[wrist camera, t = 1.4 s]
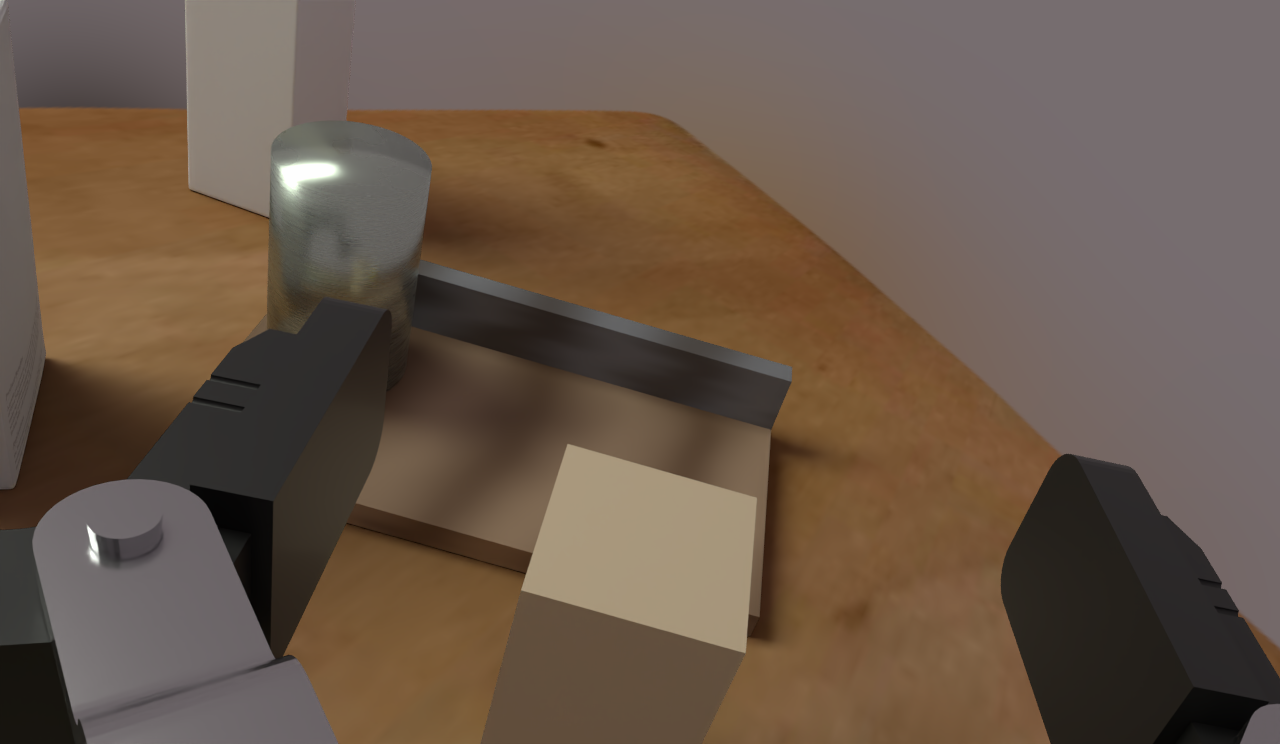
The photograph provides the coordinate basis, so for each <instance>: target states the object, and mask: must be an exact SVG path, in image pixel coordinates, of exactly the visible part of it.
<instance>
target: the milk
mask: <svg viewBox="0 0 1280 744" xmlns="http://www.w3.org/2000/svg"><path fill="white" fill-rule="evenodd" d="M355 2H356V0H185V21H186V22H185V24H186V72H187V73H186V74H187V124H188V173H189V189H191V190H193V191H196V192H199V193H201V194H204V195H207V196H210V197H212V198H215V199H218V200H221V201H224V202H226V203H229V204H232V205H235V206H238V207H240V208H243V209H246V210H249V211H251V212H254V213H257V214H260V215H263V216H265V217H268V218H269V211H270V172H271V147H272V143H273V141H274V139H275V138H276V137H277V136H278V135H279V134H280V133H282V132H283V131H285V130H287V129H289V128H291V127H294V126H296V125H300V124H304V123H309V122H316V121H346V117H347V104H348V91H349V78H350V65H351V53H352V40H353V27H354V15H355Z"/></svg>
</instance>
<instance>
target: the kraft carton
mask: <svg viewBox="0 0 1280 744" xmlns="http://www.w3.org/2000/svg"><path fill="white" fill-rule="evenodd" d="M756 504H757V498H756V497H752V496H749V495H745V494H742V493H738V492H735V491H731V490H728V489H724V488H721V487H717V486H714V485H710V484H707V483H703V482H700V481H696V480H693V479H689V478H686V477H682V476H679V475H675V474H672V473H668V472H665V471H661V470H658V469H654V468H651V467H647V466H644V465H640V464H637V463H633V462H630V461H626V460H623V459H619V458H616V457H612V456H609V455H605V454H602V453H598V452H595V451H591V450H588V449H584V448H581V447H577V446H574V445H570V444H567V447H566V450H565V454H564V457H563V460H562V463H561V466H560V469H559V472H558V476H557V479H556V482H555V485H554V488H553V491H552V495H551V498H550V501H549V504H548V507H547V510H546V513H545V517H544V520H543V523H542V526H541V529H540V532H539V535H538V539H537V542H536V545H535V548H534V551H533V554H532V558H531V561H530V564H529V567H528V570H527V573H526V576H525V580H524V583H523V586H522V589H521V593H520V596H519V600H518V604H517V608H516V612H515V615H514V619H513V623H512V627H511V630H510V634H509V638H508V642H507V646H506V649H505V653H504V657H503V661H502V665H501V668H500V672H499V676H498V680H497V683H496V687H495V691H494V695H493V699H492V702H491V706H490V710H489V714H488V718H487V721H486V725H485V729H484V733H483V736H482V740H481V744H702V742H703V740H704V738H705V736H706V734H707V731H708V729H709V727H710V725H711V723H712V721H713V719H714V717H715V715H716V713H717V711H718V709H719V707H720V705H721V703H722V701H723V699H724V697H725V695H726V693H727V690H728V688H729V686H730V684H731V682H732V680H733V678H734V676H735V674H736V672H737V670H738V668H739V666H740V664H741V662H742V660H743V658H744V656H745V654H746V641H747V627H748V614H749V600H750V586H751V573H752V559H753V545H754V531H755V518H756Z"/></svg>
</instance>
